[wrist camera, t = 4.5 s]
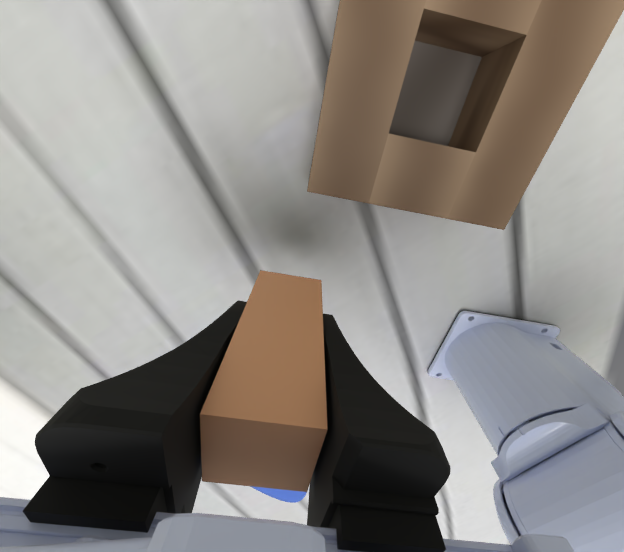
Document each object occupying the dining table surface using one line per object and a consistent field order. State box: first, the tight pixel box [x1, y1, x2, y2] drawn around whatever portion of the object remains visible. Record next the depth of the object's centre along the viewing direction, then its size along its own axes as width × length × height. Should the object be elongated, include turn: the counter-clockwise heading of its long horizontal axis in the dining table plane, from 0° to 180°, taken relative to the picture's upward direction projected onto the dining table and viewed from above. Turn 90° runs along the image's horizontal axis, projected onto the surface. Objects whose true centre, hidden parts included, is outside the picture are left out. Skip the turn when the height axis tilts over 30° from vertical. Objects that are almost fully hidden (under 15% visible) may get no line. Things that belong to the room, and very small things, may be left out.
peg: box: [200, 270, 328, 492], centre depth 11 cm, size 3×3×8 cm
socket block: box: [307, 0, 624, 230], centre depth 14 cm, size 12×12×4 cm
